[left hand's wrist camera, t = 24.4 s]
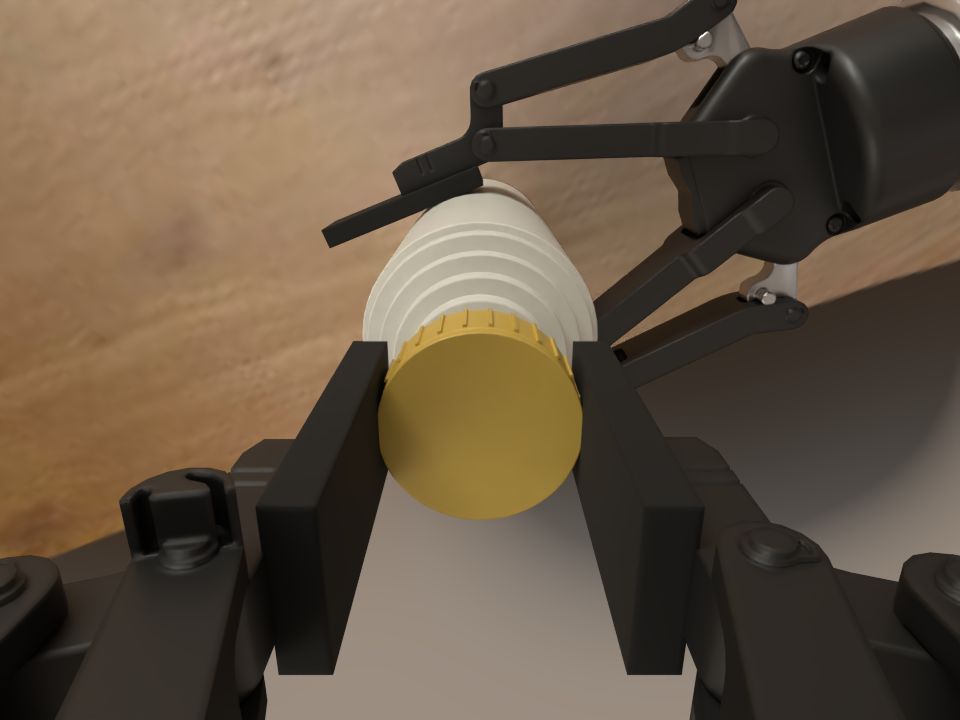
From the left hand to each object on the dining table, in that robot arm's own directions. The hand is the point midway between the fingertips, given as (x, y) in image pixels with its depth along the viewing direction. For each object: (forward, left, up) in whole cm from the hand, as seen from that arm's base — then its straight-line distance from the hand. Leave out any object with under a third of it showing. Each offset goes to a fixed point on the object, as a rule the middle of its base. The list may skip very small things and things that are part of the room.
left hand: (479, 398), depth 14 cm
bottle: (0, 0, -20) cm, 20 cm away
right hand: (-5, -1, -13) cm, 14 cm away
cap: (0, 0, +1) cm, 1 cm away
